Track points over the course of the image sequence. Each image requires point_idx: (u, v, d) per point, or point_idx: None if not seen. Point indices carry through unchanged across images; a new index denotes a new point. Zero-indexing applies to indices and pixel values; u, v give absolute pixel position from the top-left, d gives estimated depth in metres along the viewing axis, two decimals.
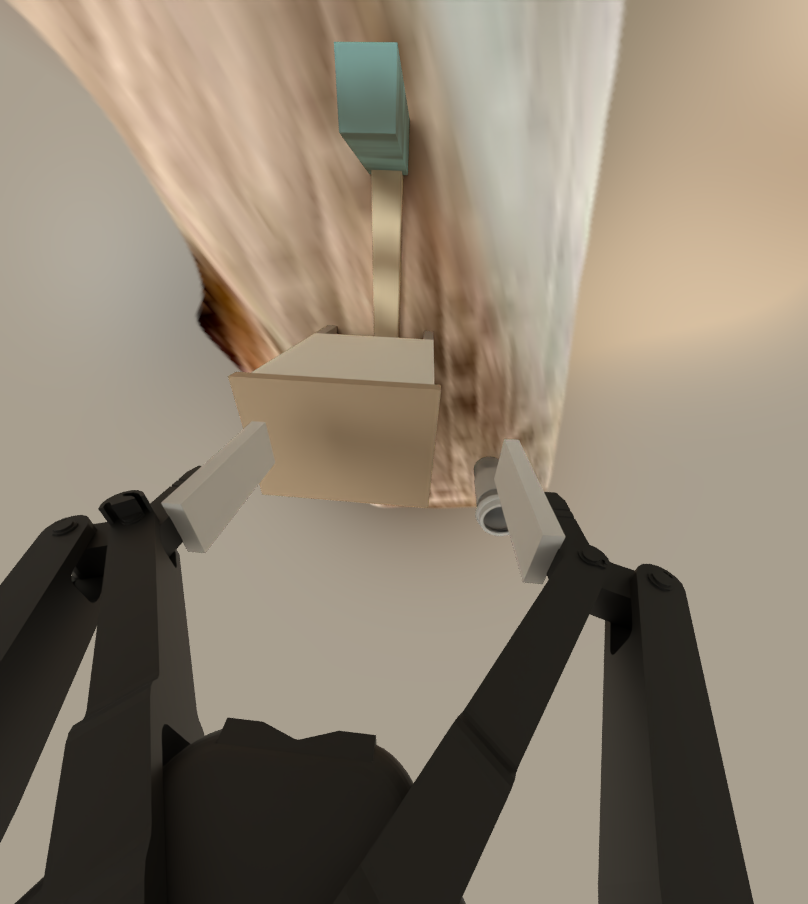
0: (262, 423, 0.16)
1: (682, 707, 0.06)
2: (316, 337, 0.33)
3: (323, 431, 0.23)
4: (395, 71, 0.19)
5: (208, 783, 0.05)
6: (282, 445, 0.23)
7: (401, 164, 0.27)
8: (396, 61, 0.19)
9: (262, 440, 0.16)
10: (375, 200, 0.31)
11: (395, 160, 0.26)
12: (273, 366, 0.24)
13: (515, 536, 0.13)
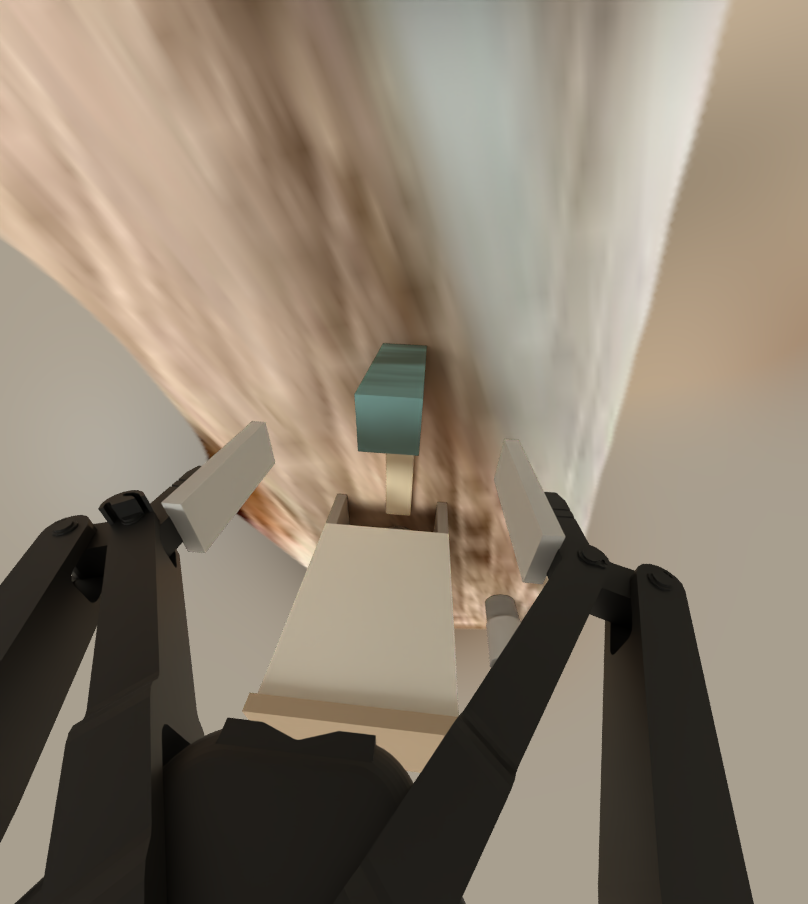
0: (262, 423, 0.16)
1: (682, 707, 0.06)
2: (327, 539, 0.32)
3: None
4: (420, 417, 0.18)
5: (208, 783, 0.05)
6: None
7: None
8: (421, 409, 0.18)
9: (262, 440, 0.16)
10: None
11: None
12: (287, 651, 0.23)
13: (515, 536, 0.13)
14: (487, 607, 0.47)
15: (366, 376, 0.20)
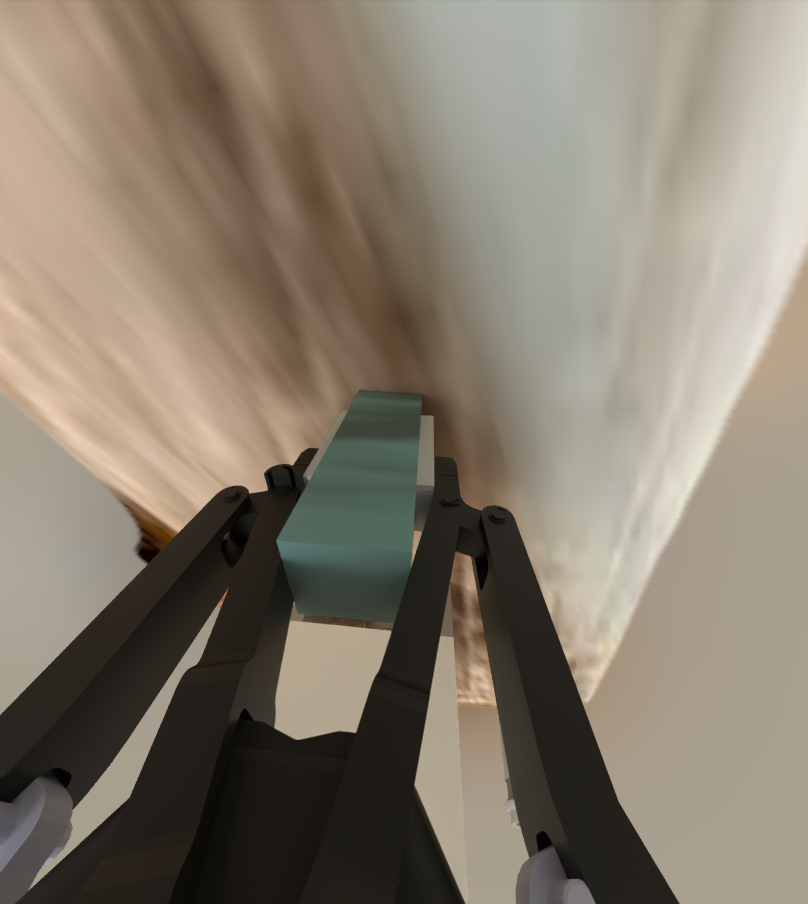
0: None
1: (529, 610, 0.08)
2: (287, 650, 0.23)
3: None
4: (407, 577, 0.09)
5: None
6: None
7: None
8: (409, 565, 0.09)
9: None
10: None
11: None
12: None
13: None
14: None
15: (314, 477, 0.11)
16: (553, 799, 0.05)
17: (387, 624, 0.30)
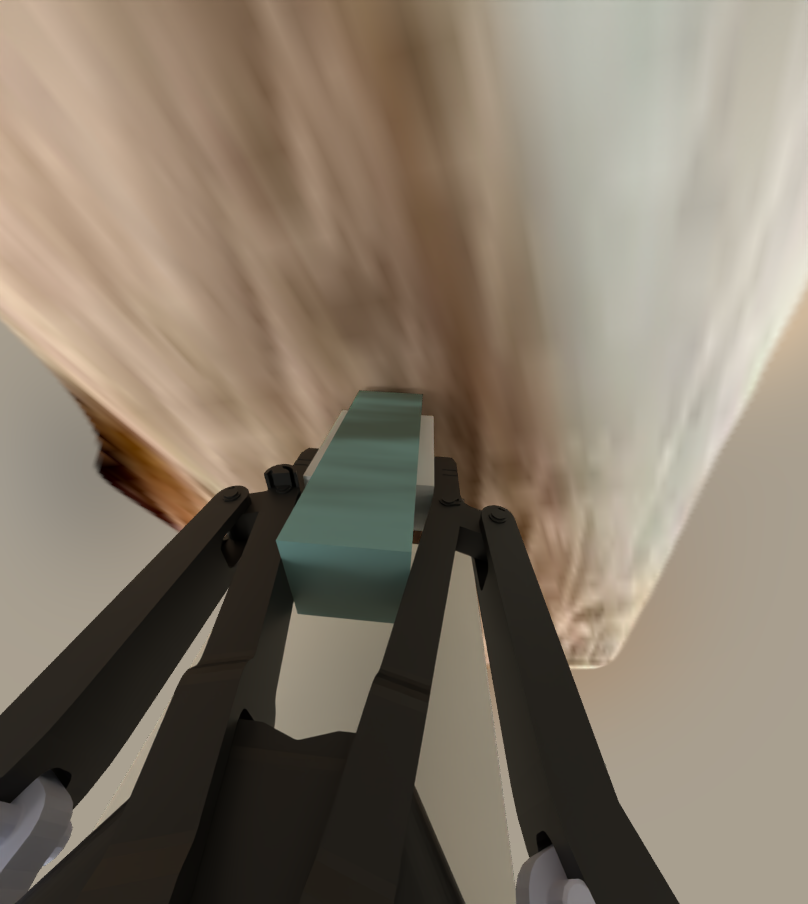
0: None
1: (529, 610, 0.08)
2: None
3: None
4: (407, 577, 0.09)
5: None
6: None
7: None
8: (409, 565, 0.09)
9: None
10: None
11: None
12: None
13: None
14: None
15: (314, 476, 0.11)
16: (553, 800, 0.05)
17: None
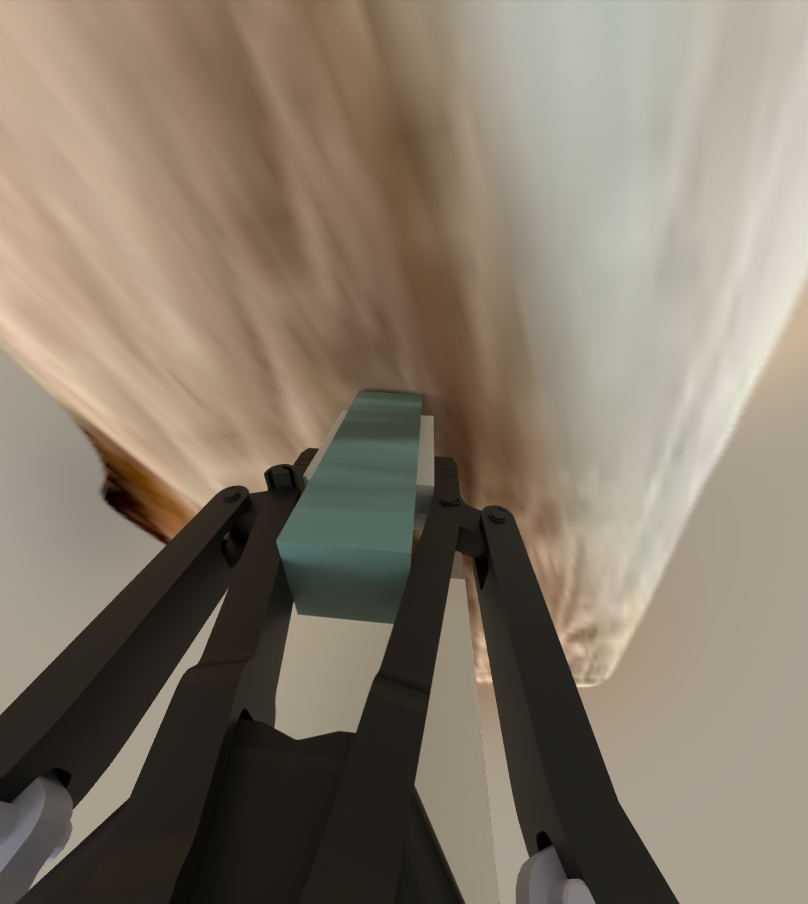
0: None
1: (529, 610, 0.08)
2: None
3: None
4: (407, 578, 0.09)
5: None
6: None
7: None
8: (409, 565, 0.09)
9: None
10: None
11: None
12: None
13: None
14: None
15: (314, 477, 0.11)
16: (552, 799, 0.05)
17: None
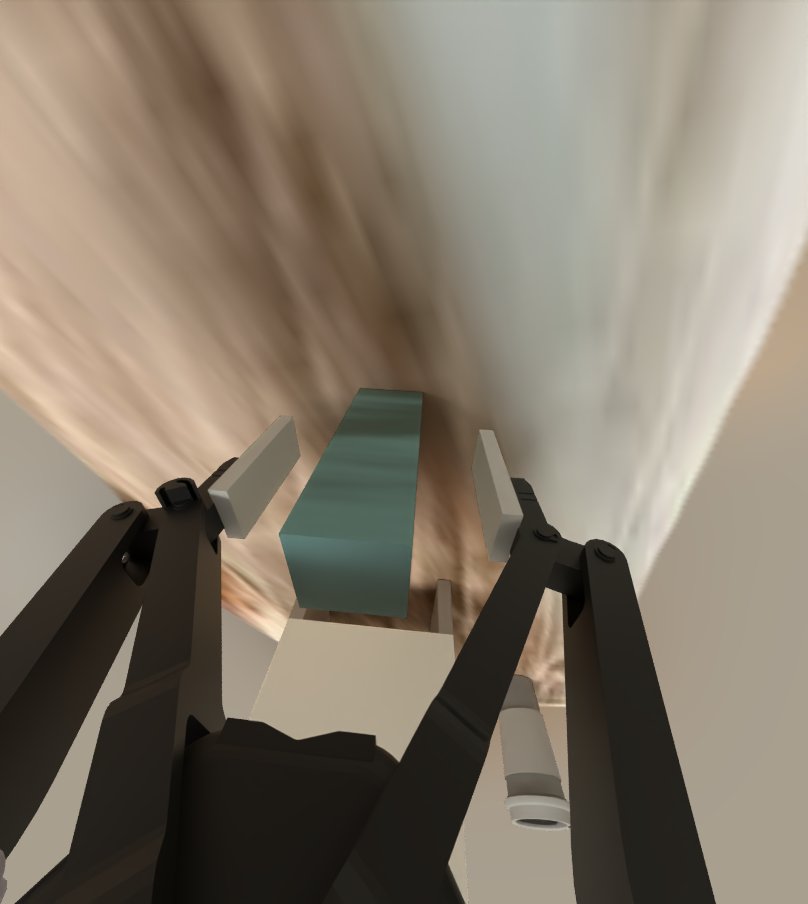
0: (290, 417, 0.17)
1: (630, 667, 0.07)
2: (288, 648, 0.23)
3: None
4: (407, 570, 0.09)
5: (208, 783, 0.05)
6: None
7: None
8: None
9: (290, 434, 0.17)
10: None
11: None
12: None
13: (484, 519, 0.14)
14: None
15: (316, 472, 0.11)
16: (631, 885, 0.05)
17: None
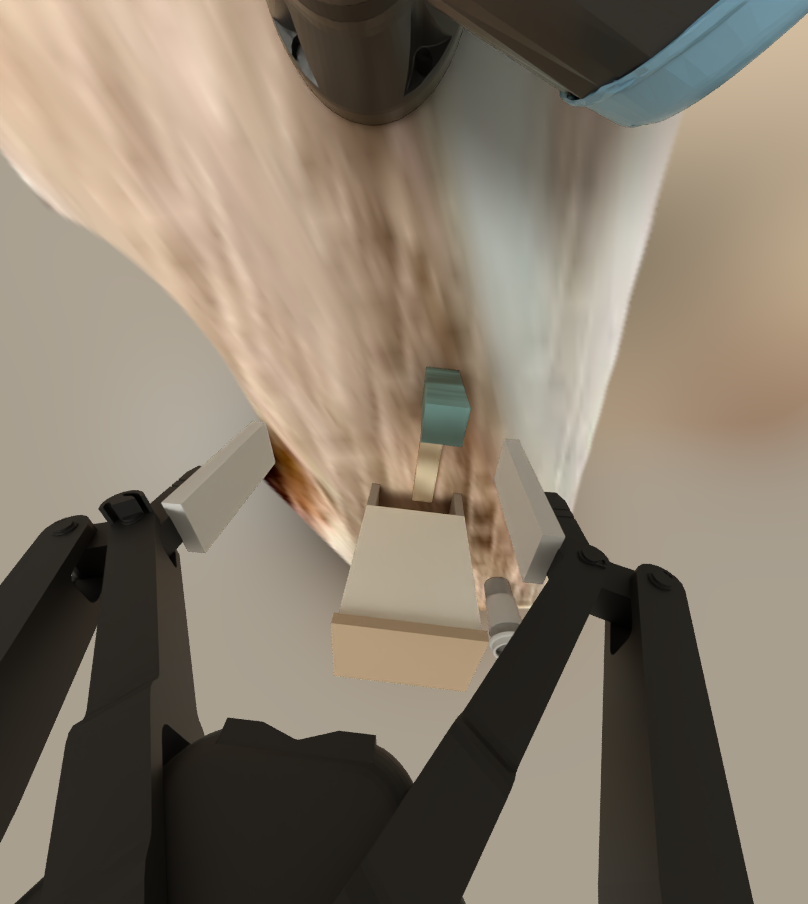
0: (262, 423, 0.16)
1: (682, 707, 0.06)
2: (370, 516, 0.40)
3: (395, 651, 0.30)
4: (467, 420, 0.27)
5: (208, 783, 0.05)
6: (360, 655, 0.31)
7: None
8: (468, 415, 0.27)
9: (262, 440, 0.16)
10: None
11: None
12: (354, 589, 0.31)
13: (515, 536, 0.13)
14: (486, 587, 0.56)
15: (427, 391, 0.29)
16: None
17: None
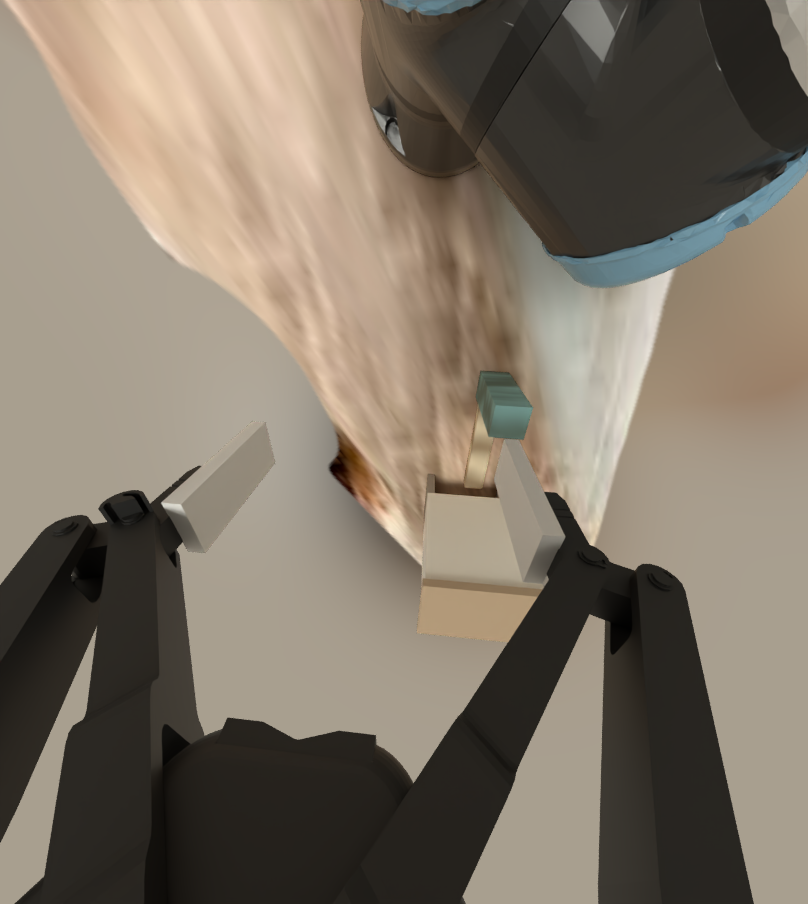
0: (262, 423, 0.16)
1: (682, 707, 0.06)
2: (433, 502, 0.47)
3: (471, 609, 0.36)
4: (529, 417, 0.33)
5: (208, 783, 0.05)
6: (442, 613, 0.37)
7: None
8: (530, 413, 0.33)
9: (262, 440, 0.16)
10: (480, 416, 0.44)
11: None
12: (433, 560, 0.38)
13: (515, 536, 0.13)
14: None
15: (492, 394, 0.35)
16: None
17: None
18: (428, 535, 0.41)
